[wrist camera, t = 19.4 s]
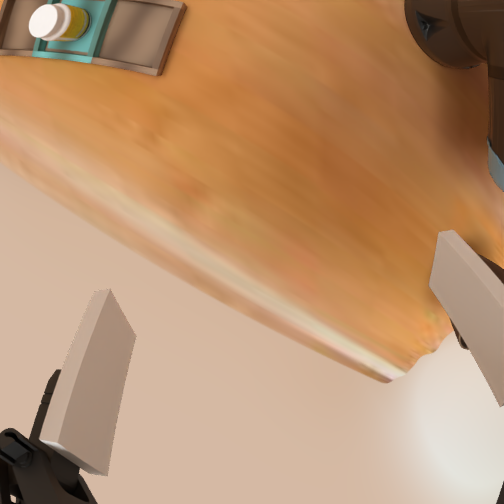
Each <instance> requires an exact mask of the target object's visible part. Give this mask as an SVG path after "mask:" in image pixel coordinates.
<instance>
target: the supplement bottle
mask: <svg viewBox="0 0 504 504" xmlns="http://www.w3.org/2000/svg"><path fill="white" fill-rule="evenodd" d="M90 26H91V16H90V14H89V12H88V11H87V10H85V9H83V8H79V7H75V6H71V5H67V4H62V3H57V4H46V5H43V6H41V7H39V8H38V9H37V10H36V11H35V12H34V13H33V15H32V16H31V18H30V21H29V31H30V33H31V34H32V36H34V37H37V38H41V39H43V40H46V41H76V40H78V39H80V38H82V37H83V36H84V35H85V34H86V33H87V32H88V30H89V28H90Z"/></svg>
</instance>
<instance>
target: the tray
mask: <svg viewBox="0 0 504 504" xmlns="http://www.w3.org/2000/svg"><path fill="white" fill-rule="evenodd" d="M57 3H62V4H67V5H71V6H75V7H79V8H83V9H85V10H87V11H88V12H89V14H90V16H91V26H90V28H89V30H88V32H87V33H86V34H85V35H84V36H83V37H82V38H80V39H78V40H76V41H46V40H43V39H41V38H37V37H34V36H32V34H31V33H30V31H29V21H30V18H31V16H32V15H33V13H34V12H35V11H36V10H37V9H38V8H39V7H41V6H43V5H46V4H57ZM186 8H187V6H186V5H185V4H184V3H183V2H179V1H174V0H4V1H3V4H2V7H1V11H0V55H13V56H30V57H43V58H53V59H63V60H71V61H78V62H85V63H92V64H98V65H104V66H110V67H116V68H121V69H126V70H131V71H136V72H141V73H145V74H150V75H154V76H159V75H162V72H163V69H164V66H165V63H166V60H167V57H168V55H169V52H170V49H171V46H172V43H173V41H174V38H175V35H176V33H177V30H178V28H179V25H180V23H181V20H182V18H183V15H184V13H185V10H186Z"/></svg>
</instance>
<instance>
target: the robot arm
mask: <svg viewBox="0 0 504 504" xmlns="http://www.w3.org/2000/svg"><path fill="white" fill-rule="evenodd" d="M405 14H406V19H407V23H408V26H409V28H410V31H411V33H412V35H413V37H414V38H415V40H416V42H417V43H418V45H419V46H420V47H421V48H422V50H423V51H424V52H425V53H426V54H427V55H428V56H429V57H431V58H432V59H433V60H435V61H436V62H438V63H440V64H442V65H444V66H447V67H451V68H458V69H470V68H474V67H476V66H478V65H480V64H482V63H487V65H488V84H489V128H488V136H487V145H488V169H489V172H490V175H491V176H492V178H493V180H494V182H495V183H496V185H497V186H498V187H499V188H500V189H501V190H502V191H503V192H504V0H405ZM429 287H430V288H431V290H432V291H433V293H434V294H435V296H436V297H437V299H438V300H439V302H440V303H441V305H442V306H443V308H444V309H445V311H446V312H447V314H448V316H449V317H450V319H451V320H452V322H453V323H454V325H455V327H456V328H457V330H458V332H459V333H460V335H461V337H462V338H463V340H464V342H465V343H466V345H467V347H468V348H469V350H470V352H471V353H472V355H473V357H474V359H475V361H476V362H477V364H478V366H479V368H480V370H481V371H482V373H483V375H484V377H485V379H486V380H487V382H488V384H489V386H490V388H491V390H492V392H493V394H494V396H495V398H496V400H497V402H498V404H499V406H500V407H501V406H503V405H504V284H503V283H502V282H501V281H500V280H499V279H498V277H497V276H496V275H495V274H494V273H493V272H492V270H491V269H490V268H489V267H488V266H487V265H486V264H485V263H484V261H483V260H482V259H481V258H480V257H479V256H478V255H477V254H476V253H475V252H474V251H473V250H472V249H471V247H470V246H469V245H468V244H467V243H466V242H465V241H464V240H463V239H462V238H461V237H460V236H459V235H458V234H457V233H456V232H455V231H454V230H449V231H443V232H439V233H438V239H437V245H436V251H435V256H434V262H433V267H432V272H431V276H430V281H429ZM135 339H136V334H135V333H134V331H133V329H132V328H131V326H130V324H129V322H128V321H127V319H126V317H125V315H124V313H123V312H122V310H121V308H120V306H119V304H118V303H117V301H116V299H115V297H114V295H113V293H112V291H111V289H107V290H99V291H95V292H94V294H93V296H92V298H91V300H90V303H89V305H88V307H87V309H86V311H85V314H84V316H83V318H82V320H81V323H80V325H79V327H78V330H77V332H76V334H75V337H74V340H73V342H72V344H71V347H70V349H69V352H68V354H67V357H66V360H65V362H64V365H63V368H62V370H56V371H55V372H54V374H53V375H52V377H51V378H50V379H49V381H48V384H47V386H46V389H45V392H44V393H45V395H43V397H42V400H41V405H40V406H39V409H38V412H37V415H36V418H35V422H34V425H33V428H32V431H31V434H30V437H29V440H28V439H27V438H25V437H24V436H23V435H22V434H20V433H19V432H18V431H17V430H15V429H13V428H8V429H5V430H4V431H2V432H1V433H0V504H97V502H96V500H95V498H94V497H93V495H92V493H91V491H90V490H89V488H88V486H87V484H86V482H85V481H84V479H83V477H82V476H81V475H80V474H79V470H80V468H81V469H83V470H84V471H86V472H88V473H90V474H95V475H102V476H108V469H109V462H110V457H111V451H112V445H113V440H114V434H115V429H116V423H117V418H118V413H119V408H120V403H121V399H122V394H123V389H124V385H125V380H126V376H127V372H128V367H129V363H130V359H131V355H132V351H133V347H134V343H135ZM10 494H11V495H13V496H15V497H16V503H14V502H12V501H11V496H10ZM496 504H504V482H503V485H502V488H501V491H500V495H499V497H498V500H497V503H496Z"/></svg>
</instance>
